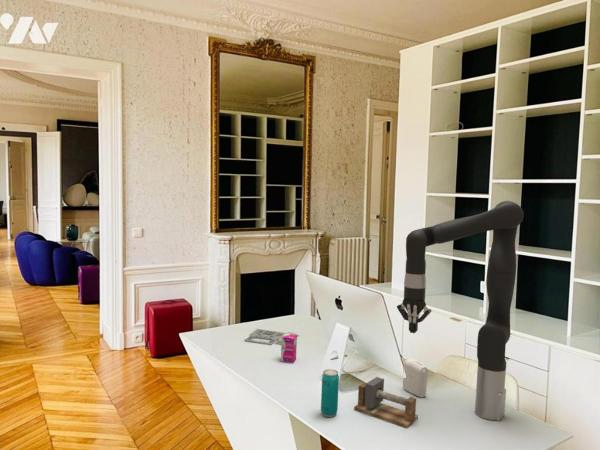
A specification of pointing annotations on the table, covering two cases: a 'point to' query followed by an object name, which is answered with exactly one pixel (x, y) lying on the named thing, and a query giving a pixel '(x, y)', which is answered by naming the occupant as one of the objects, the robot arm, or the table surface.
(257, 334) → the office telephone
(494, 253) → the robot arm
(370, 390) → the collar
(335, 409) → the beverage can
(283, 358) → the supplement box
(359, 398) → the rail
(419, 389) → the photo printer
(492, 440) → the table surface
